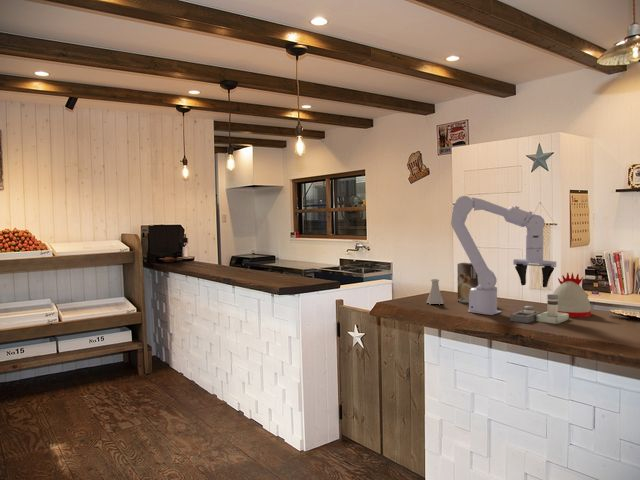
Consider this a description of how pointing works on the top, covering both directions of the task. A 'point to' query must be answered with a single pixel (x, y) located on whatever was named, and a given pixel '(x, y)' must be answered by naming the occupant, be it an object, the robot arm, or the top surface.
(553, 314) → the cylinder
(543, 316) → the parts tray
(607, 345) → the top surface
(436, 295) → the flask
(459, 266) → the coffee box
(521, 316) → the grey compartment rack
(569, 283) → the kitchen timer
